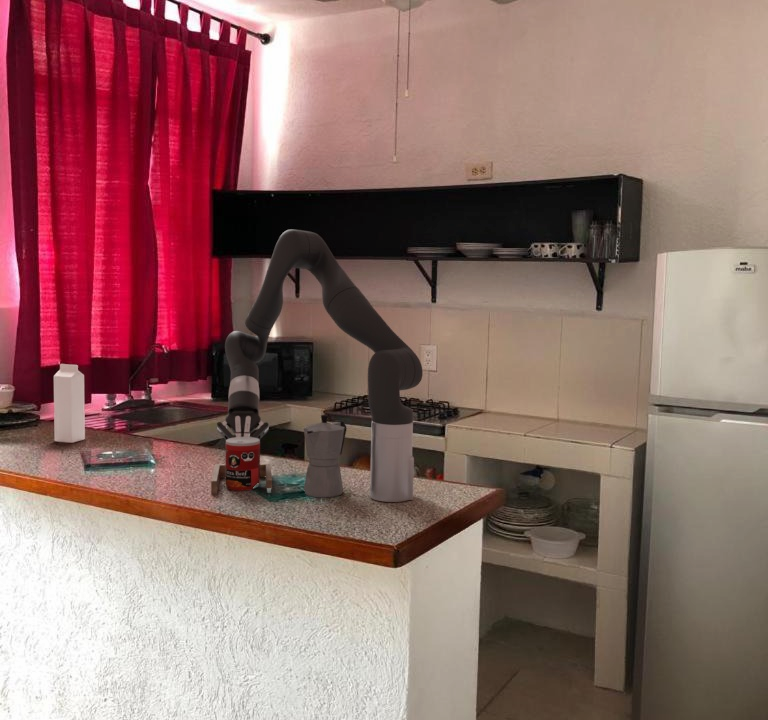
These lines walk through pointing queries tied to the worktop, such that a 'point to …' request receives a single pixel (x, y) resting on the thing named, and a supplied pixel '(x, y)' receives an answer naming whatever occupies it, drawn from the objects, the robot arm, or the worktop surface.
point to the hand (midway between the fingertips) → (241, 457)
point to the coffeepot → (324, 458)
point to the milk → (69, 404)
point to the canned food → (242, 463)
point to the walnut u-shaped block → (220, 472)
